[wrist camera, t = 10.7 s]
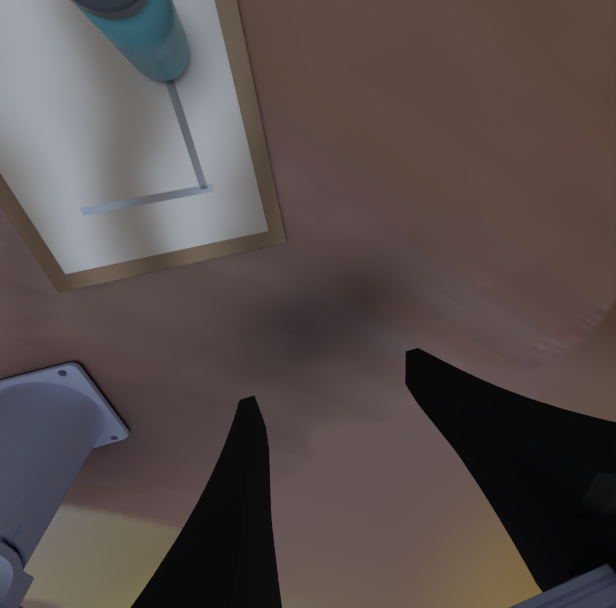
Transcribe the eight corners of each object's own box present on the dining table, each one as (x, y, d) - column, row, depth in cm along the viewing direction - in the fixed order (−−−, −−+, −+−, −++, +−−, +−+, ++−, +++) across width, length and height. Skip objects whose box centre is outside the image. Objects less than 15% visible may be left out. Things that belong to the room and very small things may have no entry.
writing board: (67, 287, 16) (56, 294, 15) (-154, -48, 10) (-193, -71, 9) (284, 240, 18) (286, 243, 17) (220, -72, 11) (218, -93, 10)
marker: (140, 91, 12) (50, 13, 7) (108, 7, 11) (-40, -185, 5) (201, 82, 13) (166, 0, 7) (177, -1, 11) (109, -188, 6)
